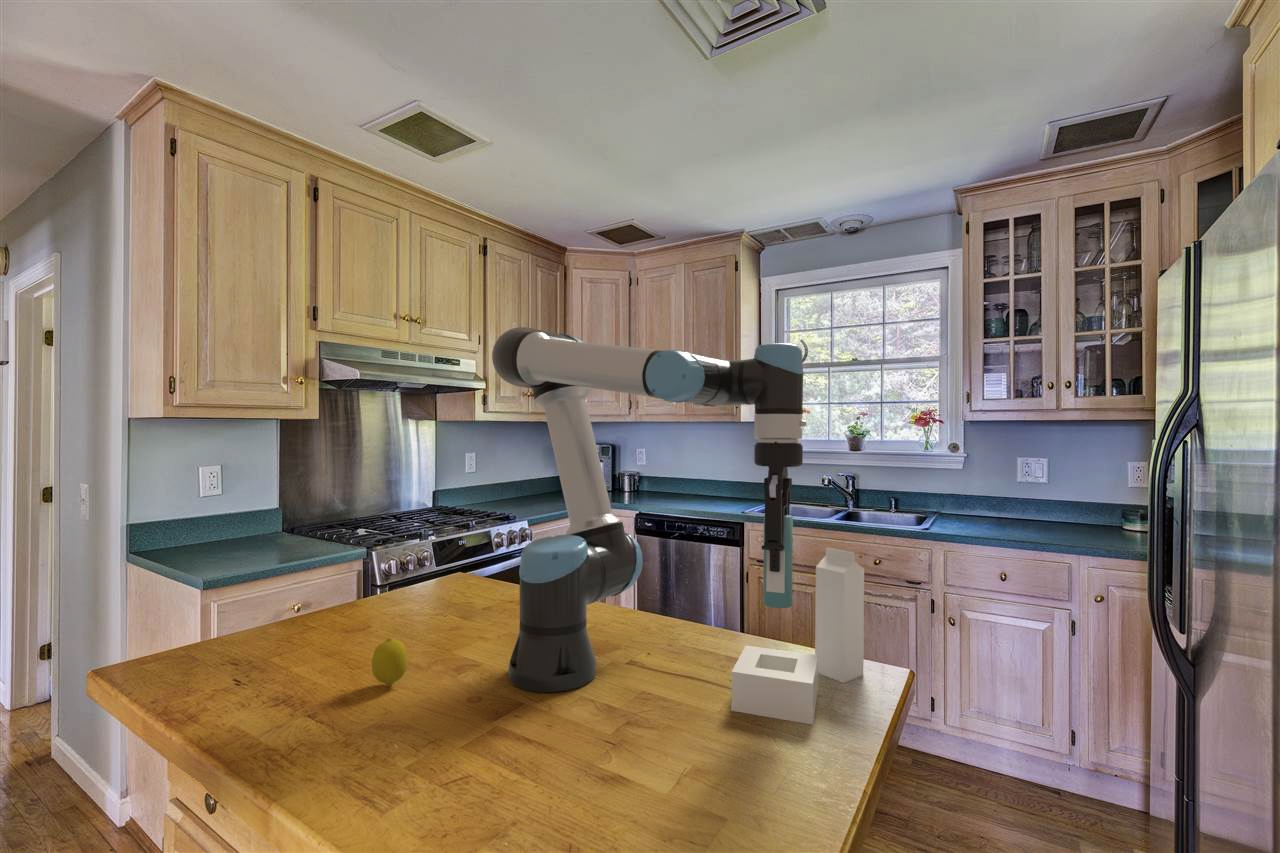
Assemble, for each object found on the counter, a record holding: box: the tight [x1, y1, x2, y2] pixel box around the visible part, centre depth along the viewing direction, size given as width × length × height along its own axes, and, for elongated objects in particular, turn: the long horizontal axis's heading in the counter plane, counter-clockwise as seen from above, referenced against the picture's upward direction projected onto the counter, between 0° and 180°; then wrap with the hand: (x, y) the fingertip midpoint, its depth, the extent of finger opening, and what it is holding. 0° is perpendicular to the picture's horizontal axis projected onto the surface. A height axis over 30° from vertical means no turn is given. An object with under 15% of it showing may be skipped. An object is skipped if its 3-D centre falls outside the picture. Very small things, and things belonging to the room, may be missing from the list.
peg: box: [762, 514, 794, 609], centre depth 96 cm, size 4×4×14 cm
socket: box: [730, 645, 819, 725], centre depth 96 cm, size 12×12×6 cm
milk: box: [814, 547, 865, 684], centre depth 107 cm, size 6×6×22 cm
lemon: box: [371, 637, 409, 687], centre depth 100 cm, size 6×6×8 cm
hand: (777, 587), depth 96 cm, fingers closed on peg, 4 cm apart
